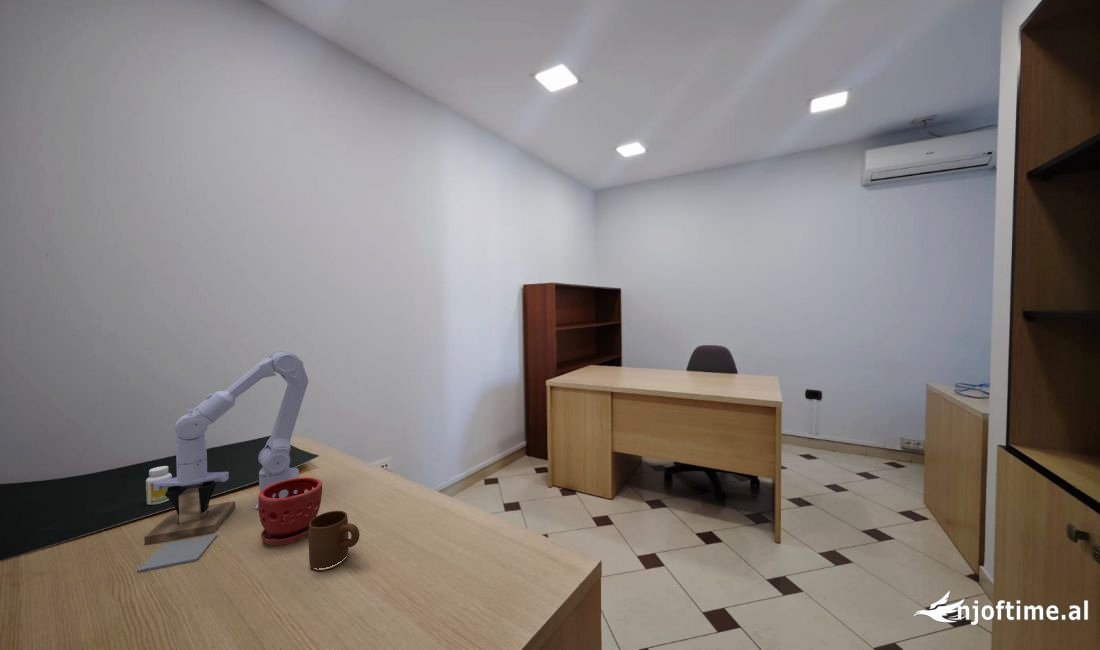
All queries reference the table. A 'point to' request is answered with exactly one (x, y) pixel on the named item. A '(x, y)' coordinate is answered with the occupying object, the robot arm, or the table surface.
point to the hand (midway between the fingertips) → (193, 512)
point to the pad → (178, 553)
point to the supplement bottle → (155, 476)
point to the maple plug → (190, 506)
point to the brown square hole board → (190, 524)
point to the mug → (330, 538)
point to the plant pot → (288, 509)
